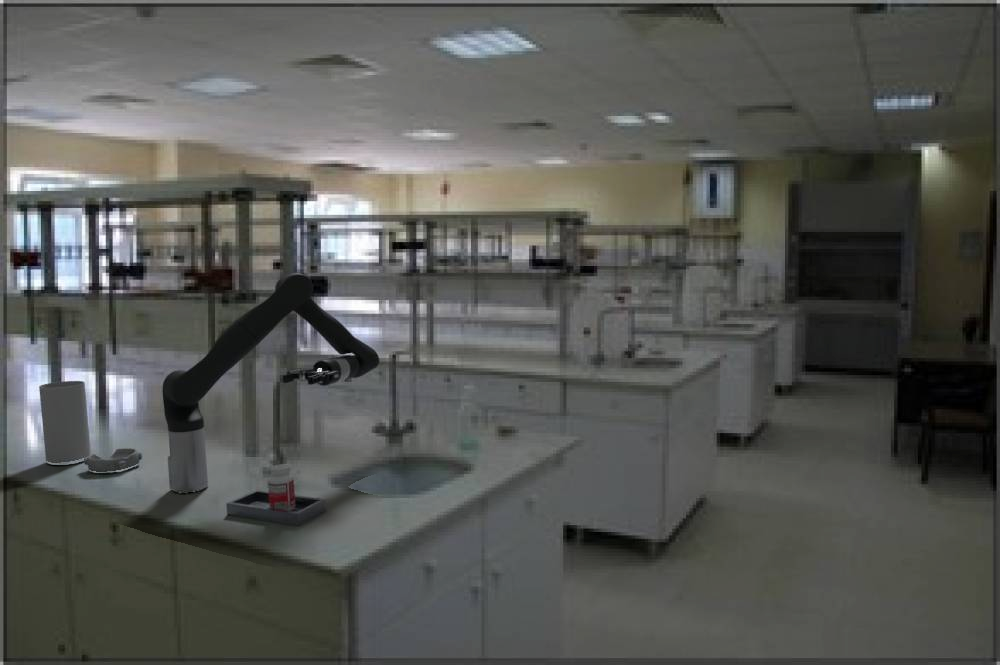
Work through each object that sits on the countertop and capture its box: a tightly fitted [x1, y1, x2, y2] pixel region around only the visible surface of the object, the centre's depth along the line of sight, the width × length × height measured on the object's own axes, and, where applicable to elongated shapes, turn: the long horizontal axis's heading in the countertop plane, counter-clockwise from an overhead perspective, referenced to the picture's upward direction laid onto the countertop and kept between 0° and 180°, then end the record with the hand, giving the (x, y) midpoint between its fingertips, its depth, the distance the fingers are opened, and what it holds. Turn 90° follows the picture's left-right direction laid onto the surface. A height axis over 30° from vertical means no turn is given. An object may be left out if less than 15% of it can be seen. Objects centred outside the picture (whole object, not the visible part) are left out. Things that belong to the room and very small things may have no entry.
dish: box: [83, 447, 143, 472], centre depth 229 cm, size 14×14×5 cm
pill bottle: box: [267, 463, 296, 511], centre depth 186 cm, size 6×6×11 cm
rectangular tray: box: [225, 489, 327, 527], centre depth 187 cm, size 22×11×3 cm, turn 67°
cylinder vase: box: [38, 380, 92, 463], centre depth 237 cm, size 12×12×25 cm
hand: (296, 380), depth 205 cm, fingers open, 8 cm apart
